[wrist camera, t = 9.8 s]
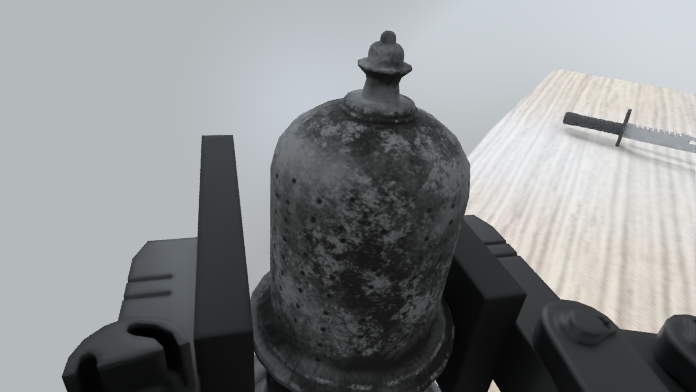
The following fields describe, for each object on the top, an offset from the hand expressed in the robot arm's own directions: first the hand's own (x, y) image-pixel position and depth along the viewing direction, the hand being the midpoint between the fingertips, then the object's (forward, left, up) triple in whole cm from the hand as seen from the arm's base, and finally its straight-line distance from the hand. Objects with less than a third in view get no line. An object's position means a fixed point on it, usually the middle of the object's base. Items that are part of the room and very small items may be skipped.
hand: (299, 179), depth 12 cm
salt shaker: (0, -5, -7) cm, 9 cm away
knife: (+53, +26, -15) cm, 61 cm away
